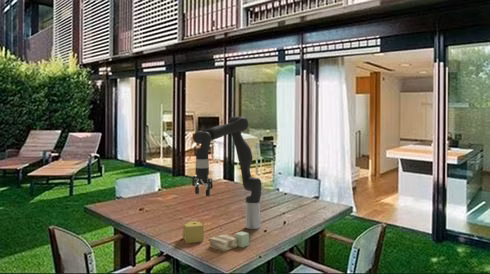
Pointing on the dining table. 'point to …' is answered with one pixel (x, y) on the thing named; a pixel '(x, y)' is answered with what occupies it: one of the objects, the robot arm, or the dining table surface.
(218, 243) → the birch box
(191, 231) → the cheese
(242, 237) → the block
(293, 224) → the dining table surface
